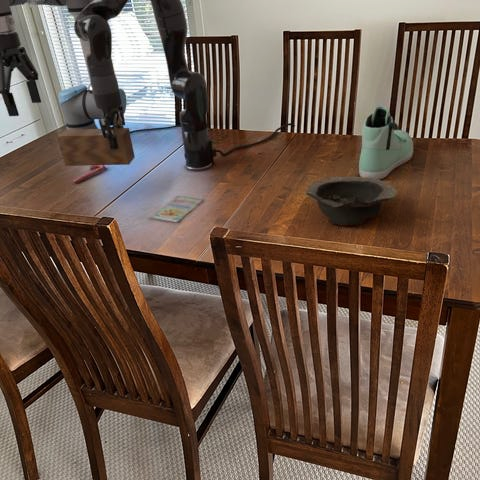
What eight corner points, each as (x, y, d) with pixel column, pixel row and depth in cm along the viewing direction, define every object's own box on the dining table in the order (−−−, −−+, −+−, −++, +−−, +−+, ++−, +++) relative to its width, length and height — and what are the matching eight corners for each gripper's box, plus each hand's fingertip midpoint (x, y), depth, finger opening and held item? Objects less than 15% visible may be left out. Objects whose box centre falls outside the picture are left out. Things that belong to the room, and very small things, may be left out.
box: (65, 166, 150) (56, 136, 145) (72, 158, 155) (64, 129, 150) (128, 164, 147) (122, 134, 142) (134, 157, 152) (128, 127, 147)
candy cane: (65, 180, 171) (64, 177, 170) (98, 165, 181) (97, 162, 180) (76, 184, 168) (75, 180, 167) (108, 168, 178) (107, 164, 177)
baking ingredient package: (151, 216, 142) (178, 195, 153) (151, 217, 142) (178, 197, 153) (176, 221, 138) (202, 199, 149) (176, 222, 138) (202, 201, 150)
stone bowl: (342, 242, 123) (342, 209, 118) (290, 211, 143) (288, 182, 139) (415, 214, 131) (417, 183, 127) (356, 189, 152) (356, 161, 147)
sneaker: (418, 146, 175) (426, 90, 164) (396, 184, 150) (403, 120, 139) (381, 142, 181) (385, 87, 170) (353, 178, 156) (357, 116, 145)
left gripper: (-10, 39, 122) (16, 121, 133) (37, 25, 143) (56, 97, 154) (-37, 41, 123) (-9, 122, 134) (13, 26, 144) (34, 97, 155)
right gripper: (109, 96, 132) (121, 154, 141) (126, 82, 144) (137, 136, 153) (83, 97, 133) (97, 154, 142) (102, 84, 145) (114, 137, 154)
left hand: (25, 109), depth 144 cm, fingers open, 13 cm apart
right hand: (118, 145), depth 147 cm, fingers closed on box, 6 cm apart
